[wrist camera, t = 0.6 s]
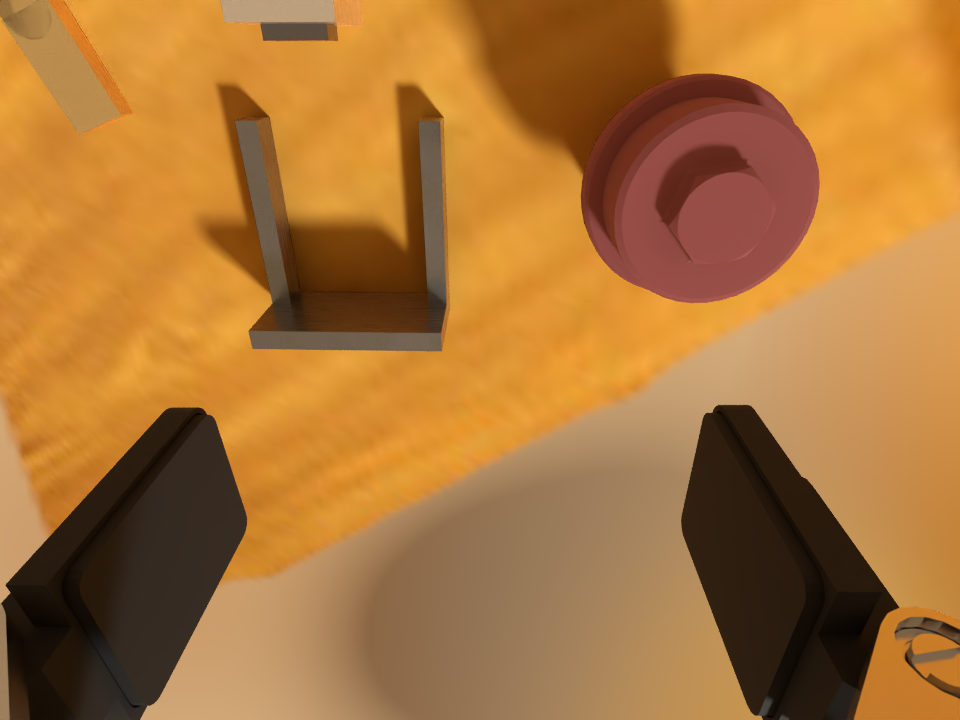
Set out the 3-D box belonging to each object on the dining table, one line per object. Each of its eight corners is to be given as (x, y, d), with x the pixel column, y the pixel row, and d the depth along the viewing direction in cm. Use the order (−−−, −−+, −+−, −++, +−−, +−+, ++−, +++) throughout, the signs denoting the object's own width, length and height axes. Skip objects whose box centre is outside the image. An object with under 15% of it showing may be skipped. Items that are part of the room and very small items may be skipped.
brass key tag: (-1, -8, 29) (-20, -10, 28) (43, -32, 29) (26, -35, 28) (92, 131, 33) (79, 134, 32) (133, 112, 32) (121, 115, 31)
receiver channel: (249, 116, 32) (200, 130, 27) (443, 117, 32) (432, 131, 27) (286, 307, 38) (252, 348, 33) (449, 309, 38) (441, 351, 33)
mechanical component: (680, 265, 36) (539, 212, 34) (772, 108, 31) (613, 38, 30) (758, 359, 25) (558, 287, 24) (916, 141, 20) (678, 33, 19)
